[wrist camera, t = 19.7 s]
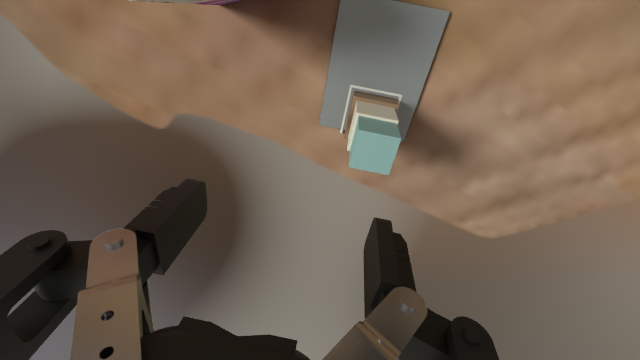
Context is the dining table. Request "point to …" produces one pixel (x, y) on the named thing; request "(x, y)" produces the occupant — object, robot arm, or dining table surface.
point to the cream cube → (370, 116)
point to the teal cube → (374, 145)
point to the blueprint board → (380, 56)
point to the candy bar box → (194, 1)
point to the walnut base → (370, 99)
